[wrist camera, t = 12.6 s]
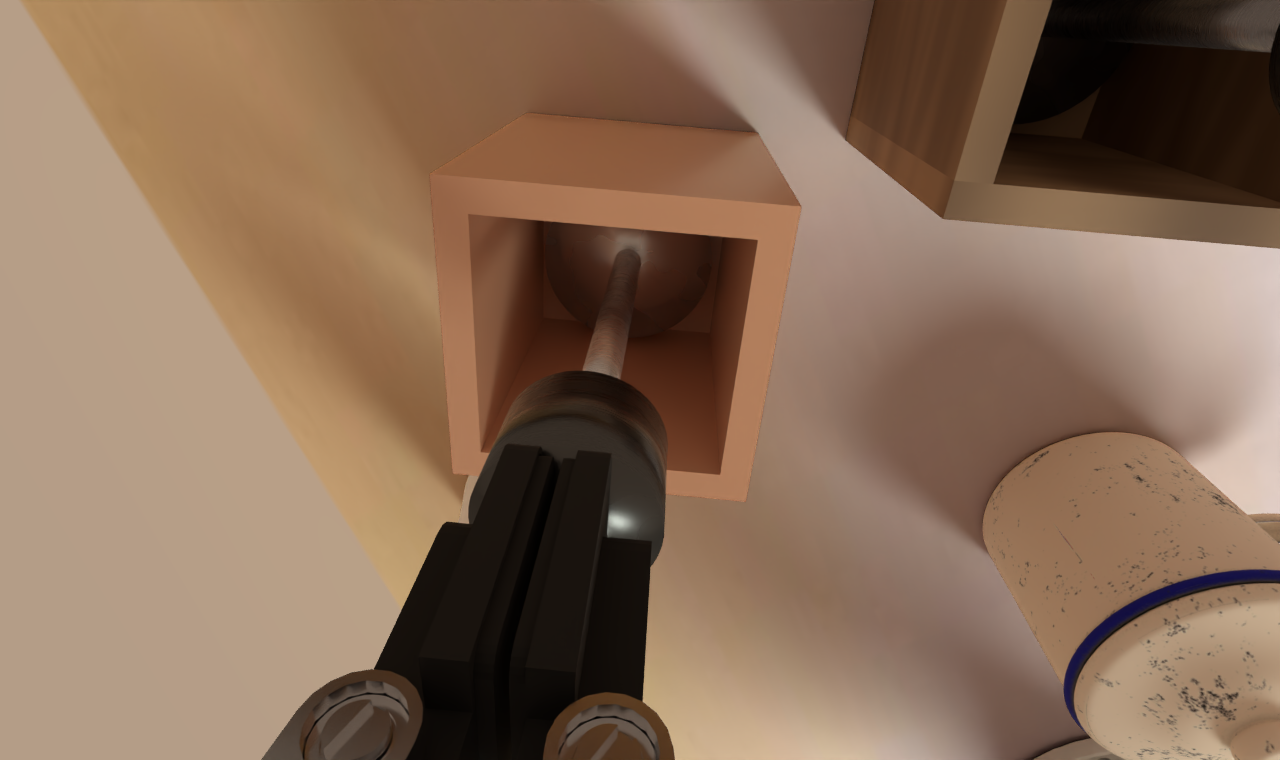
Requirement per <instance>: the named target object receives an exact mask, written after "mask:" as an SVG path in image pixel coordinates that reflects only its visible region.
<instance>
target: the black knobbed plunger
mask: <svg viewBox="0 0 1280 760" xmlns="http://www.w3.org/2000/svg"><path fill="white" fill-rule="evenodd" d="M545 266H546V271H547V276H548V278H549V281H550V284H551V287H552V289H553V291H554V293H555V295H556V296H557V298H558V299H559V301H560V302H561V304H562V305H563V306H564V307H565V308H566V310H567V311H568V312H569V313H570V314H571V315H573V316H574V317H575V318H576V319H577V320H579V321H580V322H581V323H583V324H584V325H586V326H588V327H590V328H592V329H593V330H594V332H593V335H592V339H591V342H590V345H589V349H588V352H587V356H586V359H585V363H584V366H583V369H582V371H577V370H576V371H565V372H560V373H555V374H552V375H549V376H546V377H544V378H542V379H540V380H538V381H536V382H534V383H533V384H531V385H530V386H528V387H527V388H526V389H524V390H523V391H522V392H521V393H520V394H519V395H518V397H517V398H516V399H515V400H514V401H513V403H512V405H511V407H510V408H509V410H508V413H507V415H506V417H505V419H504V421H503V424H502V426H501V428H500V430H499V433H498V435H497V437H496V439H495V442H494V444H493V446H492V448H491V451H490V453H489V455H488V457H487V460H486V462H485V464H484V466H483V469H482V471H481V473H480V475H479V477H478V480H477V482H476V484H475V486H474V489H473V491H472V494H471V497H470V501H469V507H468V519H469V524H473V522H474V520H475V517H476V515H477V512H478V510H479V508H480V505H481V503H482V500H483V498H484V495H485V493H486V490H487V488H488V486H489V483H490V481H491V478H492V476H493V473H494V471H495V469H496V466H497V464H498V461H499V459H500V456H501V454H502V451H503V449H504V447H505V445H506V444H519V445H530V446H541V447H542V451H543V456H550V457H554V465H555V466H554V491H555V487H556V483H557V480H558V476H559V472H560V469H561V465H562V461H563V459H564V458H571V459H576V455H577V451H578V450H584V451H594V452H605V453H612V468H611V483H610V499H609V515H608V530H607V537H613V538H624V539H634V540H645V541H652V549H651V565H652V564H653V563H654V561H655V560H656V558H657V556H658V554H659V552H660V549H661V547H662V543H663V538H664V522H665V498H666V475H667V452H668V440H667V433H666V429H665V425H664V423H663V421H662V418H661V416H660V414H659V413H658V411H657V410H656V408H655V406H654V405H653V404H652V403H651V402H650V401H649V399H648V398H647V397H646V396H644V395H643V394H642V393H641V392H640V391H639V390H637V389H636V388H634V387H633V386H632V385H630V384H628V383H626V382H624V381H622V380H620V379H621V373H622V367H623V362H624V356H625V351H626V345H627V340H628V338H637V337H645V336H650V335H654V334H657V333H660V332H663V331H665V330H667V329H669V328H671V327H673V326H675V325H676V324H678V323H679V322H681V321H682V320H683V319H684V318H685V317H687V316H688V315H689V314H690V313H691V312H692V310H693V309H694V308H695V307H696V306H697V304H698V303H699V301H700V300H701V298H702V296H703V294H704V292H705V290H706V288H707V285H708V282H709V278H710V273H711V266H712V253H711V242H710V237H709V235H698V234H687V233H675V232H664V231H653V230H642V229H630V228H619V227H608V226H596V225H585V224H574V223H563V222H552V223H551V226H550V228H549V231H548V234H547V239H546V244H545ZM650 567H651V566H650Z"/></svg>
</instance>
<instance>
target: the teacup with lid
mask: <svg viewBox="0 0 1280 760" xmlns="http://www.w3.org/2000/svg"><path fill="white" fill-rule="evenodd" d="M983 538H984V542H985V545H986V548H987V550H988V552H989V554H990V556H991V558H992V560H993V562H994V563H995V565H996V567H997V569H998V571H999V572H1000V574H1001V576H1002V578H1003V580H1004V581H1005V583H1006V585H1007V587H1008V588H1009V590H1010V592H1011V594H1012V596H1013V597H1014V599H1015V601H1016V603H1017V605H1018V606H1019V608H1020V610H1021V612H1022V614H1023V615H1024V617H1025V619H1026V621H1027V622H1028V624H1029V626H1030V628H1031V630H1032V631H1033V633H1034V635H1035V637H1036V639H1037V640H1038V642H1039V644H1040V646H1041V648H1042V649H1043V651H1044V653H1045V655H1046V657H1047V658H1048V660H1049V662H1050V664H1051V665H1052V667H1053V669H1054V671H1055V673H1056V674H1057V676H1058V678H1059V680H1060V682H1061V683H1062V685H1063V687H1064V698H1065V702H1066V705H1067V708H1068V710H1069V712H1070V714H1071V716H1072V717H1073V719H1074V720H1075V722H1076V723H1077V724H1078V725H1079V726H1080V727H1081V729H1082V730H1083V731H1085V732H1086V733H1087V734H1088V735H1089V736H1090V737H1091V738H1092V739H1093V740H1094V741H1095V742H1097V743H1098V744H1099V745H1101V746H1102V747H1103V748H1105V749H1107V750H1108V751H1110V752H1112V753H1113V754H1115V755H1117V756H1119V757H1121V758H1123V759H1126V760H1280V544H1279V543H1280V514H1251V515H1247V514H1246V513H1245V512H1243V511H1242V510H1241V509H1240V508H1239V507H1238V506H1237V505H1236V504H1234V503H1233V502H1232V501H1231V500H1230V499H1229V498H1228V497H1227V496H1226V495H1224V494H1223V493H1222V492H1221V491H1220V490H1219V489H1218V488H1217V487H1216V486H1214V485H1213V484H1212V483H1211V482H1210V481H1209V480H1208V479H1207V478H1205V477H1204V476H1203V475H1202V474H1201V473H1200V472H1199V471H1198V470H1197V469H1195V468H1194V467H1193V466H1192V465H1191V464H1190V463H1189V462H1188V461H1187V460H1185V459H1184V458H1183V457H1182V456H1181V455H1180V454H1179V453H1177V452H1176V451H1175V450H1174V449H1172V448H1170V447H1169V446H1167V445H1165V444H1164V443H1162V442H1159V441H1157V440H1155V439H1152V438H1149V437H1146V436H1141V435H1137V434H1132V433H1123V432H1102V433H1092V434H1086V435H1081V436H1077V437H1073V438H1069V439H1066V440H1063V441H1060V442H1057V443H1055V444H1052V445H1050V446H1048V447H1046V448H1044V449H1042V450H1040V451H1038V452H1036V453H1034V454H1033V455H1031V456H1030V457H1028V458H1027V459H1025V460H1024V461H1022V462H1021V463H1020V464H1018V465H1017V466H1016V467H1015V468H1014V469H1013V470H1011V471H1010V472H1009V473H1008V474H1007V475H1006V476H1005V478H1004V479H1003V480H1002V481H1001V482H1000V483H999V485H998V486H997V487H996V489H995V490H994V492H993V494H992V495H991V497H990V499H989V501H988V503H987V506H986V509H985V513H984V517H983Z"/></svg>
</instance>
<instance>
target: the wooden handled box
mask: <svg viewBox="0 0 1280 760" xmlns="http://www.w3.org/2000/svg"><path fill="white" fill-rule="evenodd" d="M1051 3H1052V0H875V1H874V6H873V11H872V16H871V20H870V25H869V30H868V35H867V39H866V44H865V49H864V54H863V58H862V63H861V68H860V73H859V78H858V82H857V87H856V92H855V97H854V101H853V106H852V111H851V116H850V120H849V125H848V130H847V135H846V139H845V140H846V141H847V142H848V143H849V144H851V145H852V146H853V147H854V148H856V149H857V150H858V151H859V152H861V153H862V154H863V155H864V156H866V157H867V158H868V159H869V160H871V161H872V162H873V163H874V164H875V165H877V166H878V167H879V168H880V169H882V170H883V171H884V172H885V173H887V174H888V175H889V176H890V177H892V178H893V179H894V180H895V181H897V182H898V183H899V184H900V185H901V186H903V187H904V188H905V189H906V190H908V191H909V192H910V193H911V194H913V195H914V196H915V197H916V198H918V199H919V200H920V201H921V202H923V203H924V204H925V205H926V206H928V207H929V208H930V209H931V210H932V211H934V212H935V213H936V214H937V215H939V216H940V217H941V218H942V219H949V220H960V221H972V222H983V223H994V224H1006V225H1017V226H1029V227H1040V228H1051V229H1063V230H1074V231H1086V232H1097V233H1108V234H1120V235H1131V236H1142V237H1154V238H1165V239H1177V240H1188V241H1199V242H1211V243H1222V244H1234V245H1245V246H1256V247H1268V248H1279V249H1280V115H1279V113H1278V111H1277V109H1276V107H1275V106H1274V103H1273V100H1272V96H1271V93H1270V86H1269V60H1270V54H1271V53H1269V52H1255V51H1241V50H1226V49H1212V48H1197V47H1183V46H1169V45H1154V44H1140V43H1133V45H1132V47H1131V48H1130V50H1129V52H1128V54H1127V55H1126V57H1125V58H1124V60H1123V61H1122V62H1121V64H1120V65H1119V67H1118V68H1117V69H1116V70H1115V72H1114V73H1113V74H1112V75H1111V76H1110V77H1109V78H1108V80H1107V81H1106V82H1105V83H1104V84H1102V85H1101V86H1100V87H1099V88H1098V89H1097V90H1096V91H1095V92H1094V93H1092V94H1091V95H1090V96H1089V97H1087V98H1086V99H1085V100H1083V101H1082V102H1080V103H1079V104H1077V105H1076V106H1074V107H1072V108H1071V109H1069V110H1067V111H1065V112H1063V113H1061V114H1059V115H1056V116H1054V117H1051V118H1048V119H1045V120H1042V121H1038V122H1033V123H1027V124H1013V121H1014V118H1015V115H1016V112H1017V109H1018V106H1019V103H1020V99H1021V96H1022V93H1023V90H1024V87H1025V84H1026V81H1027V78H1028V75H1029V71H1030V68H1031V65H1032V62H1033V59H1034V56H1035V53H1036V50H1037V47H1038V43H1039V40H1040V37H1041V34H1042V31H1043V28H1044V25H1045V22H1046V19H1047V16H1048V12H1049V9H1050V6H1051Z"/></svg>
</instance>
